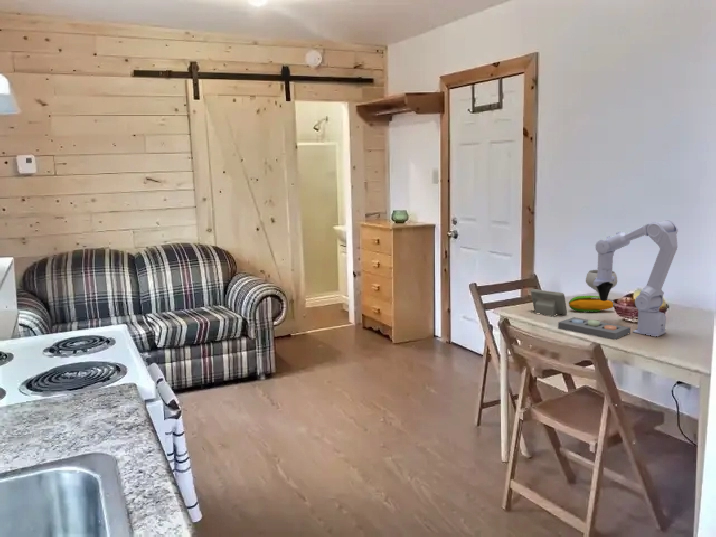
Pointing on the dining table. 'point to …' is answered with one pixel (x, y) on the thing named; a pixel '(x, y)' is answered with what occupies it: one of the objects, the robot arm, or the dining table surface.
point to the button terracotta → (610, 327)
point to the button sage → (593, 323)
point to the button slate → (577, 321)
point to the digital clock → (548, 302)
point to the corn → (589, 304)
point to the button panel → (594, 328)
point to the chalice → (591, 277)
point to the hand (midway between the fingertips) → (603, 300)
